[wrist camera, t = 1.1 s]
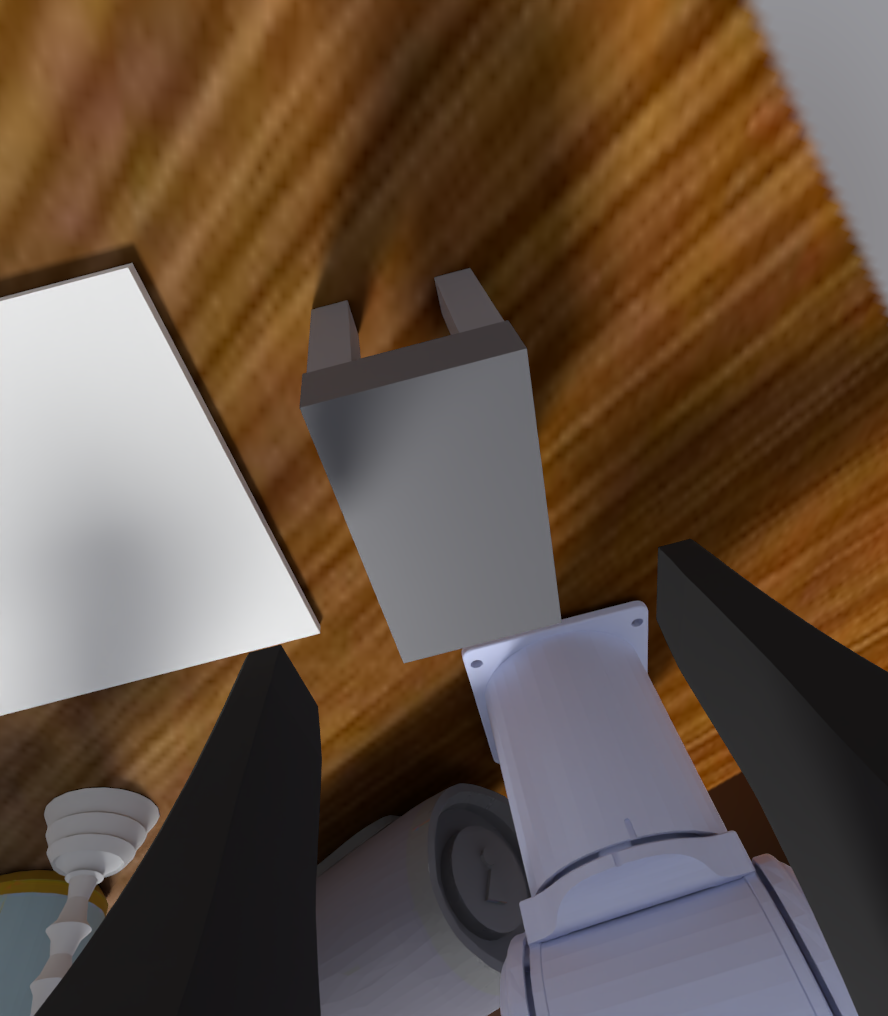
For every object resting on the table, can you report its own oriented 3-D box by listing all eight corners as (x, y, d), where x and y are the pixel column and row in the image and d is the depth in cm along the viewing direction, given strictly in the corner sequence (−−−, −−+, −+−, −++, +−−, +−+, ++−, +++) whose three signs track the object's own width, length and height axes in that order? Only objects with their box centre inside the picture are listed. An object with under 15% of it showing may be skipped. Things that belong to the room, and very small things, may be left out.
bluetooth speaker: (403, 737, 29) (430, 992, 21) (537, 778, 33) (600, 1002, 26) (192, 924, 38) (156, 1151, 30) (319, 937, 43) (317, 1138, 35)
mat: (320, 625, 23) (320, 633, 23) (-24, 714, 24) (-29, 723, 23) (132, 262, 15) (128, 267, 14) (-411, 406, 15) (-426, 413, 15)
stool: (509, 493, 21) (561, 622, 16) (387, 525, 21) (403, 663, 16) (468, 260, 16) (526, 348, 11) (308, 302, 16) (299, 407, 11)
